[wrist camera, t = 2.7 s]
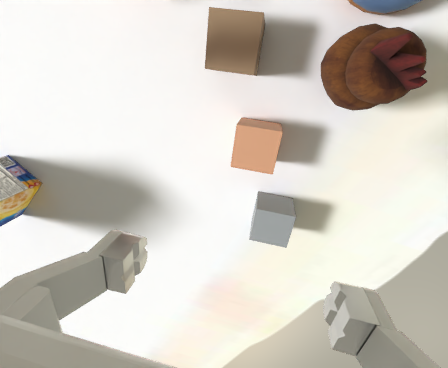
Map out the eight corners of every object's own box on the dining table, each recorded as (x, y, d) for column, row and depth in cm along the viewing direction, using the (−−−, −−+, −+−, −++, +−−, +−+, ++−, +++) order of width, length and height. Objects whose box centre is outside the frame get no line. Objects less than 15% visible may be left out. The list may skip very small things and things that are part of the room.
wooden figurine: (307, 55, 25) (352, 27, 11) (364, 24, 23) (499, -55, 9) (327, 112, 27) (385, 146, 13) (381, 88, 25) (512, 99, 11)
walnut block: (220, 20, 25) (209, 7, 20) (265, 24, 24) (263, 12, 20) (215, 70, 27) (204, 68, 23) (256, 75, 26) (253, 74, 22)
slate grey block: (258, 191, 33) (256, 208, 28) (292, 198, 32) (296, 217, 28) (252, 219, 35) (249, 239, 31) (284, 225, 34) (286, 247, 30)
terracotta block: (241, 117, 29) (236, 124, 24) (280, 123, 28) (282, 131, 24) (236, 154, 31) (230, 166, 27) (272, 160, 30) (272, 174, 26)
